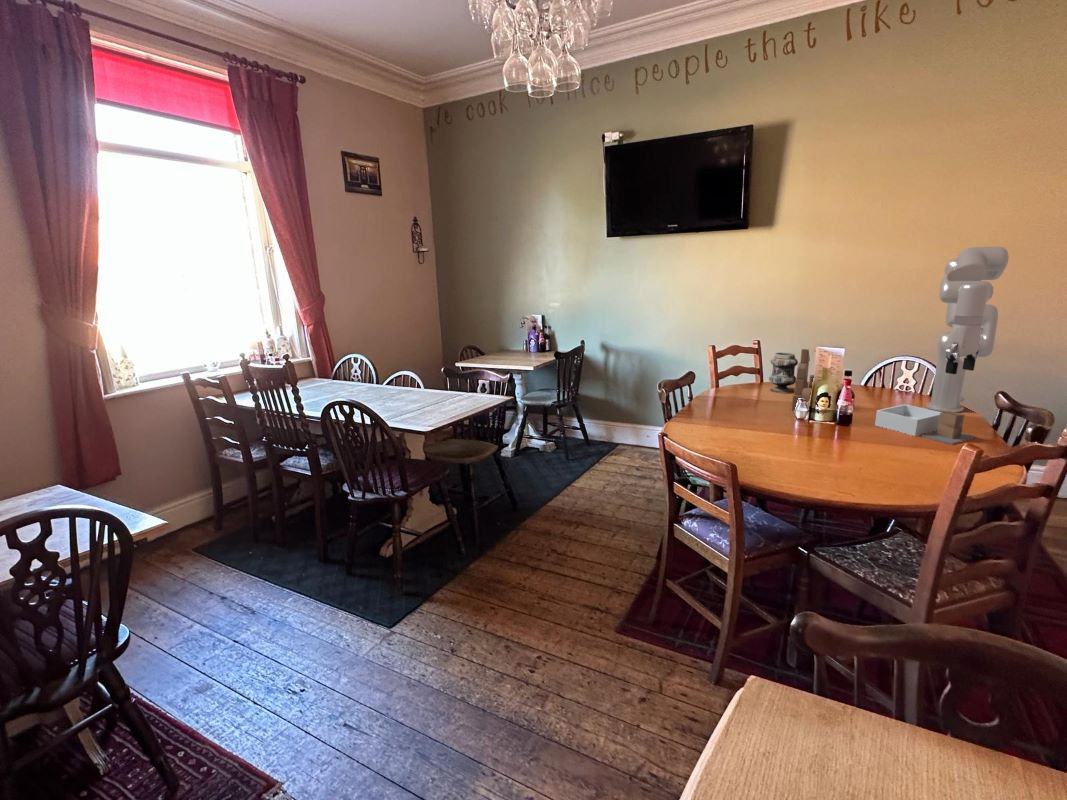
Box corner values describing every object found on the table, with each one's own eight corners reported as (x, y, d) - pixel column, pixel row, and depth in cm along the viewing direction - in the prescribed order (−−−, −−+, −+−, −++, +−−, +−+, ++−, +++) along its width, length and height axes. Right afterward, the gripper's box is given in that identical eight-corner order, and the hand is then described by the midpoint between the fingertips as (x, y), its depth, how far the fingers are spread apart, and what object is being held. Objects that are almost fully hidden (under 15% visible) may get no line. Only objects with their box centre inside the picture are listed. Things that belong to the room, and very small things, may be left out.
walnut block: (945, 432, 193) (948, 411, 191) (960, 436, 188) (964, 414, 186) (936, 434, 191) (940, 413, 189) (952, 438, 186) (955, 416, 184)
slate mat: (944, 430, 197) (945, 428, 197) (976, 438, 188) (976, 436, 188) (920, 436, 191) (921, 435, 191) (951, 444, 182) (952, 443, 182)
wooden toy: (809, 412, 224) (815, 352, 217) (791, 410, 227) (796, 351, 221) (815, 403, 236) (821, 347, 229) (799, 402, 239) (804, 346, 233)
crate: (902, 418, 211) (905, 404, 210) (943, 428, 198) (946, 413, 197) (874, 425, 205) (876, 410, 203) (914, 436, 192) (917, 420, 190)
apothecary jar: (799, 389, 260) (802, 352, 255) (790, 395, 251) (793, 356, 247) (773, 386, 268) (776, 350, 263) (763, 391, 259) (766, 354, 255)
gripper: (970, 317, 186) (962, 366, 190) (939, 322, 179) (931, 372, 184) (996, 320, 179) (986, 370, 184) (965, 324, 173) (956, 377, 177)
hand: (959, 371), depth 184 cm, fingers open, 9 cm apart
